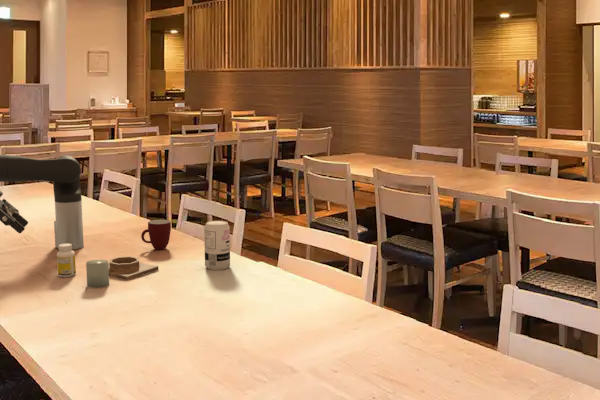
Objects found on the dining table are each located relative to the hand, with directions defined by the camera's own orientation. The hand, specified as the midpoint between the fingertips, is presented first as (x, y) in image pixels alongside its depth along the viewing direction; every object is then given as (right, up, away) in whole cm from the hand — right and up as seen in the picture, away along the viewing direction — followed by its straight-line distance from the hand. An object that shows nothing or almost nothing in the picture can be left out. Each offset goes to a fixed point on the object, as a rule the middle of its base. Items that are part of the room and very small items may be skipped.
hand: (24, 228), depth 216 cm
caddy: (+28, -14, +10) cm, 33 cm away
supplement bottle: (+11, -15, +6) cm, 20 cm away
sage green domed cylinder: (+24, -17, -4) cm, 29 cm away
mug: (+33, -9, +39) cm, 52 cm away
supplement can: (+57, -14, +16) cm, 61 cm away
